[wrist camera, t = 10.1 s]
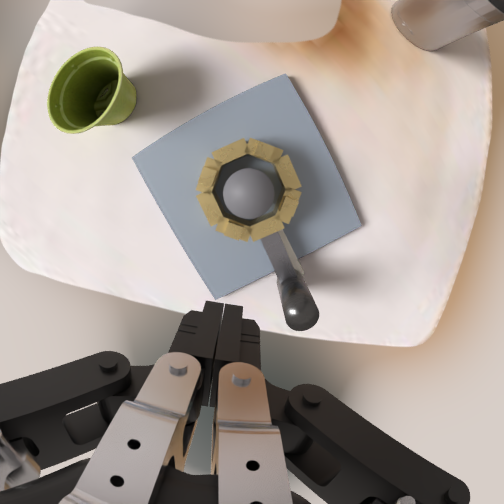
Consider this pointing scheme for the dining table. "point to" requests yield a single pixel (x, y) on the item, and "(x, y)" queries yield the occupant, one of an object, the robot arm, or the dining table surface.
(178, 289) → the dining table surface
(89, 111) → the plant pot
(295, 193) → the ring with upright handle
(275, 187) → the hub board
